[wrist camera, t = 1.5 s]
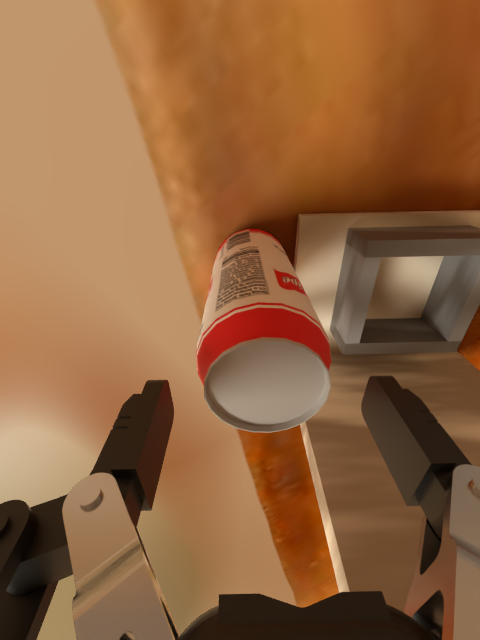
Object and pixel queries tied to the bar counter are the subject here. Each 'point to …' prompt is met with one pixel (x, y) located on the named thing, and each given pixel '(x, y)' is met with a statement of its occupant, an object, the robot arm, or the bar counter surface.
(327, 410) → the can rack
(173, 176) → the bar counter surface
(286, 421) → the beer can
